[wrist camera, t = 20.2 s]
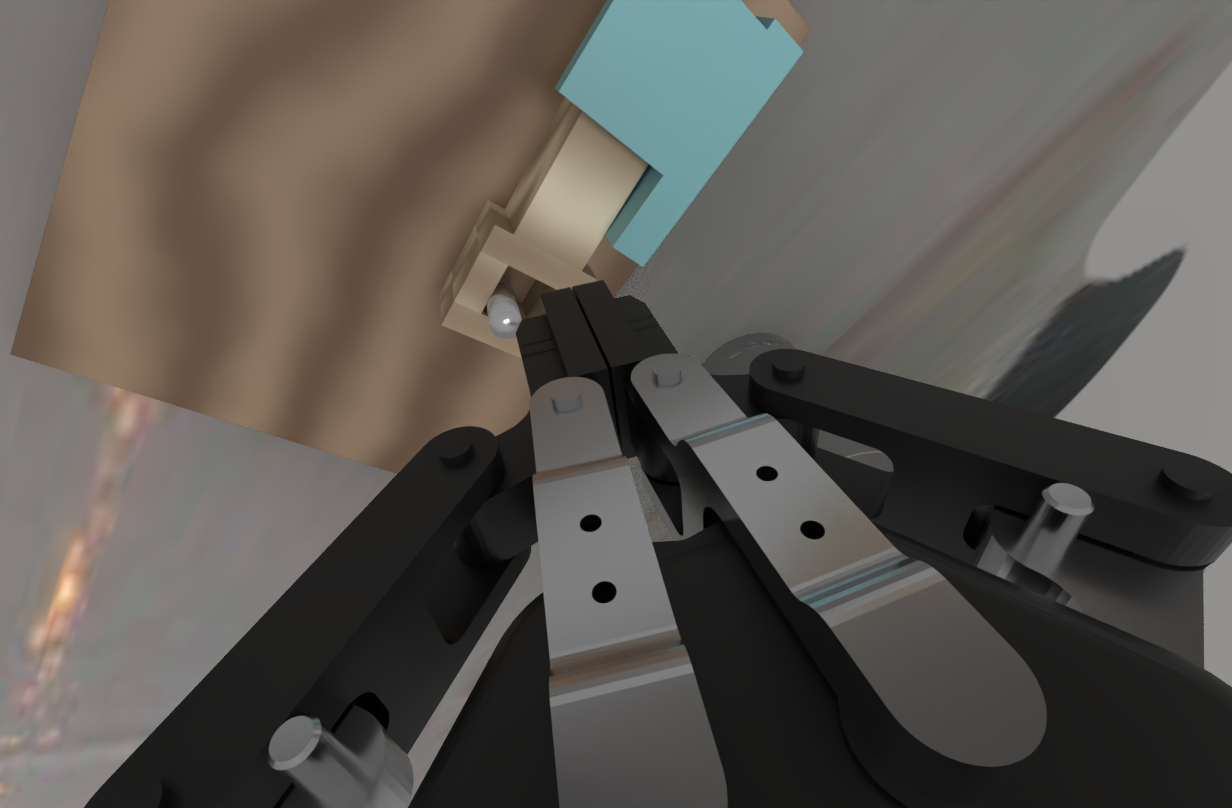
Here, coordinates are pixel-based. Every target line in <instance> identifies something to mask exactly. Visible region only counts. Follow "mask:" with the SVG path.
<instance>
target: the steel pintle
mask: <svg viewBox="0 0 1232 808" xmlns="http://www.w3.org/2000/svg"><path fill="white" fill-rule="evenodd" d="M486 306H487V312H488V317H489V323H490V328H491V331H492V333H493V334H494V335H495V336H497V337H499V338H501V339H511V338H513V337H515V336H516V331H517V329H518V327H519V325H520V323H521V321H522V318H521V315H520V311H519V307H518V304H517V300H516V296H515V293H514V289H513V285H512V282H511V278H510V274H509V271H508V269H507V268H506V270H505V272H504V274H503V276H502V277H501V279H500V281H499V283H498V284H497V286H496V288H495V290H494V292H493V293H492V295H491V297H490V299H489V300H488V302H487V304H486Z"/></svg>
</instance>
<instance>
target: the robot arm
mask: <svg viewBox="0 0 1232 808" xmlns="http://www.w3.org/2000/svg"><path fill="white" fill-rule="evenodd" d="M539 298H540V303H541V308H542V312H543V315H541V316H536V317H532V318H528V319H523V320H522V321H521V323H520V325H519V327H518V329H517V331H516V337H517V341H518V345H519V349H520V353H521V358H522V362H523V366H524V370H525V374H526V378H527V382H528V386H529V390H530V394H531V400H530V410H529V411H528V413H527V415H526V416H525V417H524V418H523V419H522V420H521V421H520V422H519V423H518V424H516V425H515V426H514V427H512V428H510V429H509V430H507V431H505V432H503V433H501V434H499V435H497V436H494V434H493V433H491V432H490V431H489V430H487V429H484V428H481V427H476V426H465V427H458V428H454V429H451V430H448V431H445V432H443V433H441V434H439V435H437V436H436V437H434V438H433V439H431V440H430V441H429V442H428V443H427V444H425V445H424V446H423V448H422V449H421V450H420V451H419V452H418V453H417V454H416V455H415V456H414V457H413V458H412V459H411V460H410V461H409V462H408V463H407V464H406V465H405V467H404V468H403V469H402V470H401V471H400V472H399V473H398V474H397V475H396V476H395V477H394V478H393V479H392V480H391V481H390V482H389V483H388V484H387V486H386V487H385V488H384V489H383V490H382V491H381V492H380V493H379V494H378V495H377V496H376V497H375V498H374V499H373V500H372V501H371V502H370V503H369V505H368V506H367V507H366V508H365V509H364V510H363V511H362V512H361V513H360V514H359V515H358V516H357V517H356V518H355V519H354V520H353V521H352V522H351V524H350V525H349V526H348V527H347V528H346V529H345V530H344V531H343V532H342V533H341V534H340V535H339V536H338V537H337V538H336V539H335V540H334V541H333V543H332V544H331V545H330V546H329V547H328V548H327V549H326V550H325V551H324V552H323V553H322V554H321V555H320V556H319V557H318V558H317V559H316V560H315V562H314V563H313V564H312V565H311V566H310V567H309V568H308V569H307V570H306V571H305V572H304V573H303V574H302V575H301V576H300V577H299V578H298V579H297V580H296V582H295V583H294V584H293V585H292V586H291V587H290V588H289V589H288V590H287V591H286V592H285V593H284V594H283V595H282V596H281V597H280V598H279V599H278V601H277V602H276V603H275V604H274V605H273V606H272V607H271V608H270V609H269V610H268V611H267V612H266V613H265V614H264V615H263V616H262V617H261V618H260V620H259V621H258V622H257V623H256V624H255V625H254V626H253V627H252V628H251V629H250V630H249V631H248V632H247V633H246V634H245V635H244V636H243V637H242V639H241V640H240V641H239V642H238V643H237V644H236V645H235V646H234V647H233V648H232V649H231V650H230V651H229V652H228V653H227V654H226V655H225V656H224V658H223V659H222V660H221V661H220V662H219V663H218V664H217V665H216V666H215V667H214V668H213V669H212V670H211V671H210V672H209V673H208V674H207V675H206V677H205V678H204V679H203V680H202V681H201V682H200V683H199V684H198V685H197V686H196V687H195V688H194V689H193V690H192V691H191V692H190V693H189V694H188V696H187V697H186V698H185V699H184V700H183V701H182V702H181V703H180V704H179V705H178V706H177V707H176V708H175V709H174V710H173V711H172V712H171V713H170V715H169V716H168V717H167V718H166V719H165V720H164V721H163V722H162V723H161V724H160V725H159V726H158V727H157V728H156V729H155V730H154V731H153V732H152V734H151V735H150V736H149V737H148V738H147V739H146V740H145V741H144V742H143V743H142V744H141V745H140V746H139V747H138V748H137V749H136V750H135V751H134V752H133V754H132V755H131V756H130V757H129V758H128V759H127V760H126V761H125V762H124V763H123V764H122V765H121V766H120V767H119V768H118V769H117V770H116V771H115V773H114V774H113V775H112V776H111V777H110V778H109V779H108V780H107V781H106V782H105V783H104V784H103V785H102V786H101V787H100V789H99V790H98V791H97V792H96V793H95V794H94V795H93V797H92V798H91V799H90V800H89V802H88V803H87V804H86V806H85V807H84V808H1232V687H1231V686H1229V685H1227V684H1226V683H1225V682H1223V681H1222V680H1221V679H1219V678H1218V677H1216V676H1215V675H1213V674H1212V673H1210V672H1208V671H1206V670H1205V669H1204V620H1203V619H1204V613H1203V612H1204V606H1203V574H1204V573H1205V572H1206V570H1207V569H1208V568H1209V567H1210V566H1211V565H1212V564H1213V563H1214V562H1215V560H1216V559H1217V558H1218V557H1219V556H1220V555H1221V554H1222V553H1223V552H1224V551H1225V550H1226V549H1227V547H1228V546H1229V545H1230V544H1231V543H1232V474H1231V473H1230V472H1228V471H1227V470H1225V469H1223V468H1221V467H1219V466H1217V465H1215V464H1213V463H1211V462H1209V461H1207V460H1204V459H1201V458H1199V457H1196V456H1193V455H1190V454H1186V453H1182V452H1179V451H1175V450H1171V449H1167V448H1164V447H1160V446H1156V445H1153V444H1149V443H1145V442H1141V441H1138V440H1134V439H1130V438H1127V437H1123V436H1119V435H1115V434H1111V433H1108V432H1104V431H1100V430H1097V429H1093V428H1089V427H1085V426H1082V425H1078V424H1074V423H1071V422H1067V421H1063V420H1059V419H1056V418H1052V417H1048V416H1044V415H1041V414H1037V413H1033V412H1029V411H1026V410H1022V409H1018V408H1014V407H1011V406H1007V405H1003V404H1000V403H996V402H992V401H988V400H985V399H981V398H977V397H973V396H970V395H966V394H962V393H958V392H955V391H951V390H947V389H944V388H940V387H936V386H932V385H929V384H925V383H921V382H917V381H914V380H910V379H906V378H902V377H899V376H895V375H891V374H888V373H884V372H880V371H876V370H873V369H869V368H865V367H861V366H858V365H854V364H850V363H846V362H843V361H839V360H835V359H832V358H828V357H824V356H820V355H817V354H813V353H809V352H805V351H801V350H796V349H795V348H794V347H793V346H792V345H791V344H790V343H789V342H787V341H786V340H784V339H783V338H781V337H779V336H776V335H772V334H764V333H757V334H750V335H745V336H742V337H739V338H736V339H734V340H732V341H730V342H728V343H727V344H725V345H723V346H722V347H720V348H719V349H718V350H716V351H715V352H714V353H712V354H711V355H710V356H709V358H708V359H707V360H706V361H705V362H704V363H703V364H702V365H701V364H700V363H699V362H698V361H697V360H695V359H693V358H691V357H689V356H686V355H681V354H678V352H677V351H676V349H675V348H674V346H673V345H672V343H671V342H670V340H669V339H668V337H667V336H666V334H665V333H664V331H663V330H662V328H661V327H659V324H658V322H657V321H656V319H655V318H654V317H653V315H652V313H651V312H650V310H649V309H648V307H647V306H646V304H645V303H643V302H641V301H640V300H638V299H636V298H634V297H632V296H630V295H629V296H624V297H620V298H615V299H614V297H613V295H612V294H611V292H610V290H609V289H608V287H607V285H606V283H605V282H604V280H599V281H595V282H590V283H585V284H581V285H576V286H572V290H571V288H570V287H568V288H563V289H559V290H554V291H550V292H545V293H541V294H539ZM635 456H637V457H638V459H639V461H640V464H641V471H642V480H643V484H644V487H645V489H646V490H647V492H648V494H649V496H650V498H651V500H652V501H653V503H654V505H655V507H656V509H657V511H658V512H659V514H660V516H661V518H662V520H663V522H664V523H665V525H666V527H667V529H668V531H669V533H670V535H671V536H672V538H673V540H674V541H665V542H652V541H651V537H650V534H649V530H648V527H647V524H646V520H645V517H644V514H643V510H642V507H641V503H640V500H639V497H638V493H637V490H636V486H635V483H634V480H633V476H632V473H631V470H630V466H629V463H628V460H627V458H631V457H635ZM536 542H538V543H539V553H540V563H541V574H542V584H543V593H542V594H540V595H539V596H538V597H536V598H535V599H534V600H533V601H532V602H531V603H530V604H529V605H527V606H526V607H525V608H524V610H523V611H522V612H521V613H520V614H519V615H518V616H517V617H516V618H515V620H514V621H513V622H512V624H511V625H510V626H509V628H508V629H507V630H506V632H505V633H504V635H503V636H502V638H501V640H500V641H499V643H498V645H497V646H496V648H495V650H494V652H493V654H492V655H491V657H490V659H489V661H488V663H487V665H486V666H485V668H484V670H483V672H482V674H481V676H480V677H479V679H478V681H477V683H476V685H475V686H474V688H473V690H472V692H471V694H470V696H469V697H468V699H467V701H466V703H465V705H464V706H463V708H462V710H461V712H460V714H459V716H458V717H457V719H456V721H455V723H454V725H453V727H452V728H451V730H450V732H449V734H448V736H447V737H446V739H445V741H444V743H443V745H442V747H441V748H440V750H439V752H438V754H437V756H436V757H435V759H434V761H433V763H432V765H431V767H430V768H429V770H428V772H427V774H426V776H425V777H424V779H423V781H422V783H421V785H420V786H419V788H418V790H417V792H416V794H415V796H414V797H413V799H412V801H411V803H410V805H409V802H410V799H411V795H412V790H413V769H412V765H411V762H410V759H409V758H408V756H407V754H408V753H409V751H410V749H411V748H412V746H413V745H414V743H415V741H416V740H417V738H418V737H419V735H420V733H421V732H422V730H423V729H424V727H425V725H426V724H427V722H428V721H429V719H430V717H431V716H432V714H433V713H434V711H435V709H436V708H437V706H438V705H439V703H440V701H441V700H442V698H443V696H444V695H445V693H446V692H447V690H448V688H449V687H450V685H451V684H452V682H453V680H454V679H455V677H456V676H457V674H458V672H459V671H460V669H461V668H462V666H463V664H464V663H465V661H466V660H467V658H468V656H469V655H470V653H471V651H472V650H473V648H474V647H475V645H476V643H477V642H478V640H479V639H480V637H481V635H482V634H483V632H484V631H485V629H486V627H487V626H488V624H489V623H490V621H491V619H492V618H493V616H494V615H495V613H496V611H497V610H498V608H499V606H500V605H501V603H502V602H503V600H504V598H505V597H506V595H507V594H508V592H509V590H510V589H511V587H512V586H513V584H514V582H515V581H516V579H517V578H518V576H519V574H520V573H521V571H522V570H523V568H524V566H525V565H526V563H527V561H528V559H529V557H530V553H531V545H533V544H535V543H536ZM408 805H409V806H408Z"/></svg>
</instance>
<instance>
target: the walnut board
mask: <svg viewBox="0 0 1232 808" xmlns="http://www.w3.org/2000/svg"><path fill="white" fill-rule="evenodd" d="M606 1H607V0H109V3H108V6H107V10H106V13H105V17H104V21H103V24H102V28H101V31H100V35H99V38H98V42H97V46H96V49H95V53H94V56H93V60H92V64H91V67H90V71H89V74H88V78H87V82H86V85H85V89H84V92H83V96H82V99H81V103H80V107H79V110H78V114H77V117H76V121H75V125H74V128H73V132H72V135H71V139H70V142H69V146H68V150H67V153H66V157H65V160H64V164H63V168H62V171H61V175H60V178H59V182H58V185H57V189H56V193H55V196H54V200H53V203H52V207H51V211H50V214H49V218H48V221H47V225H46V228H45V232H44V236H43V239H42V243H41V246H40V250H39V254H38V257H37V261H36V264H35V268H34V271H33V275H32V279H31V282H30V286H29V289H28V293H27V297H26V300H25V304H24V307H23V311H22V314H21V318H20V322H19V325H18V329H17V332H16V336H15V340H14V343H13V347H12V350H11V355H14V356H17V357H21V358H24V359H27V360H30V361H34V362H37V363H40V364H43V365H47V366H50V367H53V368H56V369H60V370H63V371H66V372H69V373H73V374H76V375H79V376H82V377H86V378H89V379H92V380H95V381H99V382H102V383H105V384H108V385H112V386H115V387H118V388H121V389H125V390H128V391H131V392H134V393H138V394H141V395H144V396H147V397H151V398H154V399H157V400H160V401H164V402H167V403H170V404H173V405H176V406H180V407H183V408H186V409H189V410H193V411H196V412H199V413H202V414H206V415H209V416H212V417H215V418H219V419H222V420H225V421H228V422H232V423H235V424H238V425H241V426H245V427H248V428H251V429H254V430H258V431H261V432H264V433H267V434H271V435H274V436H277V437H280V438H284V439H287V440H290V441H293V442H297V443H300V444H303V445H306V446H310V447H313V448H316V449H319V450H323V451H326V452H329V453H332V454H336V455H339V456H342V457H345V458H349V459H352V460H355V461H358V462H361V463H365V464H368V465H371V466H374V467H378V468H381V469H384V470H387V471H391V472H394V473H397V474H398V473H399V472H400V471H401V470H402V469H403V468H404V467H405V465H406V464H407V463H408V462H409V461H410V460H411V459H412V458H413V457H414V456H415V455H416V454H417V453H418V452H419V451H420V450H421V449H422V448H423V446H424V445H425V444H427V443H428V442H429V441H430V440H431V439H433V438H434V437H436V436H437V435H439V434H441V433H443V432H445V431H448V430H451V429H454V428H458V427H465V426H476V427H481V428H484V429H487V430H489V431H490V432H491V433H493V434H494V436H497V435H499V434H501V433H503V432H505V431H507V430H509V429H510V428H512V427H514V426H515V425H516V424H518V423H519V422H520V421H521V420H522V419H523V418H524V417H525V416H526V415H527V413H528V411H529V410H530V400H531V394H530V390H529V386H528V382H527V378H526V374H525V370H524V366H523V362H522V358H520V357H517V356H515V355H512V354H510V353H507V352H505V351H503V350H500V349H498V348H495V347H493V346H491V345H488V344H486V343H483V342H481V341H478V340H476V339H474V338H471V337H469V336H466V335H464V334H461V333H459V332H457V331H454V330H452V329H449V328H447V327H445V326H442V325H441V303H440V291H441V289H442V287H443V286H444V284H445V282H446V280H447V278H448V276H449V274H450V272H451V270H452V268H453V266H454V264H455V262H456V261H457V259H458V257H459V255H460V253H461V251H462V249H463V247H464V245H465V243H466V241H467V239H468V237H469V236H470V234H471V232H472V230H473V228H474V226H475V224H476V222H477V220H478V218H479V216H480V214H481V213H482V211H483V209H484V207H485V205H486V203H487V201H488V200H490V201H492V202H493V203H495V204H497V205H499V206H501V207H502V208H504V209H505V208H506V206H507V204H508V203H509V201H510V199H511V197H512V195H513V193H514V191H515V190H516V188H517V186H518V184H519V182H520V180H521V178H522V176H523V175H524V173H525V171H526V169H527V167H528V165H529V163H530V162H531V160H532V158H533V156H534V154H535V152H536V150H537V149H538V147H539V145H540V143H541V141H542V139H543V137H544V135H545V134H546V132H547V130H548V128H549V126H550V124H551V122H552V121H553V119H554V117H555V115H556V113H557V111H558V109H559V108H560V106H561V104H562V102H563V100H564V98H565V96H564V95H562V94H561V93H560V92H559V91H557V90H556V89H555V86H556V85H557V83H558V81H559V80H560V78H561V76H562V75H563V73H564V71H565V70H566V68H567V66H568V64H569V63H570V61H571V59H572V58H573V56H574V54H575V53H576V51H577V49H578V48H579V46H580V44H581V43H582V41H583V39H584V38H585V36H586V34H587V33H588V31H589V29H590V28H591V26H592V24H593V23H594V21H595V19H596V17H597V16H598V14H599V12H600V11H601V9H602V7H603V6H604V4H605V2H606ZM741 1H742V2H743V3H744V4H745V5H746V7H747V8H748V9H749V10H750V11H751V12H752V13H753V15H754V16H759V17H767V18H775V19H776V20H777V21H778V22H779V23H780V25H781V26H782V27H783V28H784V29H785V30H786V32H787V33H788V34H789V35H790V36H791V38H792V39H793V40H794V41H795V42H796V43H797V45H798V46H799V47H800V46H801V44H802V43H803V42H804V40H805V39H806V38H807V36H808V35H809V33H810V32H811V31H812V30H811V29H810V27H809V26H808V25H807V24H806V23H805V21H804V20H803V19H802V18H801V16H800V15H799V14H798V13H797V12H796V10H795V9H794V8H793V7H792V5H791V4H790V3H789V2H788V1H787V0H741ZM588 264H589V266H590V267H591V269H592V271H593V273H594V275H595V276H596V278H597V281H599V280H604V282H605V283H606V285H607V287H608V289H609V290H610V292H611V294H612V295H613V297H615V295H616V294H617V293H618V291H619V290H620V289H621V287H622V286H623V285H624V283H625V282H626V281H627V279H628V278H629V277H630V275H631V274H632V272H633V271H634V270H635V268H636V267H637V266H638V263H636V262H635V261H633V260H632V259H630V258H629V257H627V256H625V255H624V254H622V253H621V252H619V251H618V250H616V249H615V248H613V247H612V245H611V244H610V242H609V241H608V239H607V238H606V237H605V235H604V236H603V238H602V240H601V241H600V243H599V244H598V246H597V248H596V249H595V251H594V252H593V254H592V256H591V257H590V259H589V260H588ZM507 269H508V271H509V274H510V278H511V282H512V285H513V289H514V293H515V296H516V300H517V301H518V302H520V303H522V302H523V301H524V299H525V297H526V296H527V294H528V292H529V291H530V289H531V287H532V286H533V284H534V282H535V281H536V279H535V278H533V277H531V276H529V275H527V274H525V273H523V272H521V271H519V270H517V269H515V268H513V267H511V266H509V265H508V267H507Z"/></svg>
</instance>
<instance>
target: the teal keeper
mask: <svg viewBox="0 0 1232 808" xmlns="http://www.w3.org/2000/svg"><path fill="white" fill-rule="evenodd" d="M802 53H803V50H802V49H801V48H800V47H799V46H798V45H797V43H796V42H795V41H794V40H793V39H792V38H791V36H790V35H789V34H788V33H787V32H786V30H785V29H784V28H783V27H782V26H781V25H780V23H779V22H778V21H777V20H776V19H775V18H767V17H759V16H754V15H753V13H752V12H751V11H750V10H749V9H748V8H747V7H746V5H745V4H744V3H743V2H742V1H741V0H607V1H606V2H605V4H604V6H603V7H602V9H601V11H600V12H599V14H598V16H597V17H596V19H595V21H594V23H593V24H592V26H591V28H590V29H589V31H588V33H587V34H586V36H585V38H584V39H583V41H582V43H581V44H580V46H579V48H578V49H577V51H576V53H575V54H574V56H573V58H572V59H571V61H570V63H569V64H568V66H567V68H566V70H565V71H564V73H563V75H562V76H561V78H560V80H559V81H558V83H557V85H556V86H555V89H556V90H557V91H559V92H560V93H561V94H562V95H564V96H565V97H566V98H567V99H569V100H570V101H571V102H572V103H574V104H575V105H576V106H577V107H579V108H580V109H581V110H582V111H584V112H585V113H586V114H587V115H589V116H590V117H591V118H592V119H594V120H595V121H596V122H597V123H599V124H600V125H601V126H602V127H604V128H605V129H606V130H607V131H609V132H610V133H611V134H612V135H614V136H615V137H616V138H617V139H618V140H620V141H621V142H622V143H623V144H625V145H626V146H627V147H628V148H630V149H631V150H632V151H633V152H635V153H636V154H637V155H638V156H640V157H641V158H642V159H643V160H645V161H646V162H647V163H648V166H647V168H646V169H645V171H644V172H643V174H642V176H641V177H640V179H639V180H638V182H637V184H636V185H635V187H634V188H633V190H632V192H631V193H630V195H629V196H628V198H627V200H626V201H625V203H624V204H623V206H622V208H621V209H620V211H619V212H618V214H617V216H616V217H615V219H614V220H613V222H612V224H611V225H610V227H609V228H608V230H607V232H606V233H605V237H606V238H607V239H608V241H609V242H610V244H611V245H612V247H613V248H615V249H616V250H618V251H619V252H621V253H622V254H624V255H625V256H627V257H629V258H630V259H632V260H633V261H635V262H636V263H638V264H639V265H641V266H642V267H644V265H645V264H646V263H647V261H648V260H649V259H650V257H651V256H652V255H653V253H654V252H655V251H656V249H657V248H658V247H659V245H660V244H661V243H662V241H663V240H664V238H665V237H666V236H667V234H668V233H669V232H670V230H671V229H672V228H673V226H674V225H675V224H676V222H677V221H678V220H679V218H680V217H681V216H682V214H683V213H684V212H685V210H686V209H687V208H688V206H689V205H690V204H691V202H692V201H693V200H694V198H695V197H696V196H697V194H698V193H699V192H700V190H701V189H702V188H703V186H704V185H705V183H706V182H707V181H708V179H709V178H710V177H711V175H712V174H713V173H714V171H715V170H716V169H717V167H718V166H719V165H720V163H721V162H722V161H723V159H724V158H725V157H726V155H727V154H728V153H729V151H730V150H731V149H732V147H733V146H734V145H735V143H736V142H737V141H738V139H739V138H740V137H741V135H742V134H743V133H744V131H745V130H746V129H747V127H748V126H749V124H750V123H751V122H752V120H753V119H754V118H755V116H756V115H757V114H758V112H759V111H760V110H761V108H762V107H763V106H764V104H765V103H766V102H767V100H768V99H769V98H770V96H771V95H772V94H773V92H774V91H775V90H776V88H777V87H778V86H779V84H780V83H781V82H782V80H783V79H784V78H785V76H786V75H787V74H788V72H789V71H790V70H791V68H792V67H793V65H794V64H795V63H796V61H797V60H798V59H799V57H800V56H801V55H802Z"/></svg>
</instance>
